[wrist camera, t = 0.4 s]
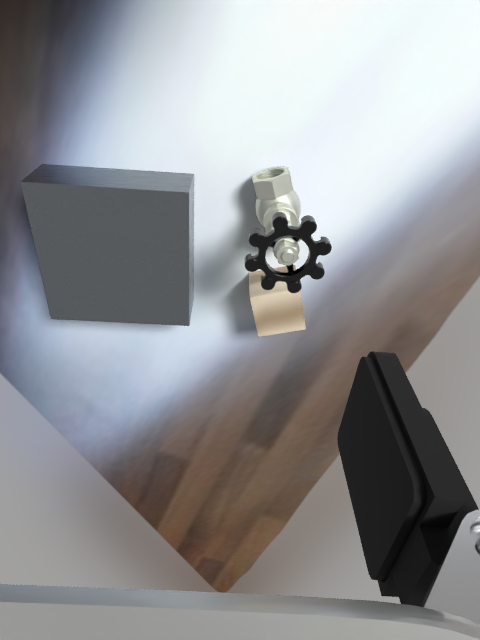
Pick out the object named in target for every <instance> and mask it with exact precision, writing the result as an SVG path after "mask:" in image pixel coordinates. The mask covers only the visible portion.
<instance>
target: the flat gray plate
mask: <svg viewBox="0 0 480 640" xmlns="http://www.w3.org/2000/svg"><path fill="white" fill-rule="evenodd" d="M21 187H22V191H23V196H24V200H25V205H26V209H27V214H28V218H29V222H30V227H31V231H32V236H33V240H34V245H35V249H36V253H37V258H38V262H39V267H40V271H41V276H42V280H43V285H44V289H45V293H46V298H47V302H48V307H49V311H50V316H51V319H64V320H84V321H104V322H124V323H143V324H163V325H183V326H189V325H190V318H191V312H192V305H193V273H194V174H185V173H170V172H154V171H139V170H123V169H108V168H92V167H77V166H62V165H46V164H42V165H41V166H39V167H38V168H37V169H36V170H34V171H33V172H32V173H31V174H29V175H28V176H27V177H26V178H24V179H23V180H22V181H21Z"/></svg>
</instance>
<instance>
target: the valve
mask: <svg viewBox="0 0 480 640" xmlns="http://www.w3.org/2000/svg"><path fill="white" fill-rule="evenodd" d="M252 179H253V185H254V189H255V193H256V197H257V199H256V207H255V209H256V215H257V218H258V220H259V222H260V223H261V224H262V226H263V227H264V228H265V234H266V235H264V234H263V233H262V232H261V231H260V229H259V228H254V229H252V230H251V231H250V232H249V243H250V244H251V245H252V246H253V247H258V254H257V255H256V256H251V254H248V255H247V256H246V257H245V268H246V269H247V270H248V271H250V272H254V271H256V270H258V269H261V270H262V271H263V272H264V273H265V276H263V275H262V276H261V278H260V280H261V287H262V288H263V289H264V290H271V289H273V288H274V286H275V283H276V282H278V281H281V282H286V284H287V289H288V291H289V292H290V293H297V292H299V291H300V290H301V282H300V279H301V278H302V277H304V276H305V275H310V276H311V277H312V278H313V279H320V278H322V277H323V276H324V268H323V265H322V264H321V263H320V262H319V263H318V264H317V263H316V259H317V257H318V256H319V255H327V254H328V253H330V251H331V244H330V241H329V239H328V238H326V237H321V240H319V241H314V240H313V238H312V237H311V234H313V233H314V232H315V231H316V228H317V225H316V222H315V219H314V218H313V217H312V216H304V217H303V218H302V219H301V221H302V222H301V224H300V223H299V220H298V219H299V216H300V212H301V205H300V200H299V197H298V195H297V193H296V192H295V191H294V189H293V187H292V182H291V176H290V172H289V168H288V167H284V166H277V167H271V168H268V169H265V170H262V171H260V172H258V173H256V174H255V175H254V176H253V177H252ZM301 239H302V240H303V241H304V242H305V243H306V244H307V246H308V247H309V255H308V259H307V260H306V262H305V263H304V265H303V266H302V267H300V268H299V269H297V270H295V271H294V267H293V263H294V262H295V261H296V260H298V259H299V258H298V254H299V245H298V242H299V241H300V240H301ZM268 246H269V247H273V252H274V256H275V257H276V259H278V263H280V264H283V265H286V266H287V271H288V272H279V271H276V270H274V269H273V268H271V267H270V266H269V264H268V263H267V261H266V259H265V254H266V250H267V248H268Z"/></svg>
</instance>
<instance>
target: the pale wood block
mask: <svg viewBox="0 0 480 640" xmlns="http://www.w3.org/2000/svg"><path fill="white" fill-rule="evenodd" d="M293 267H294V271H295V270H296V268H295V265H293ZM273 269H274V270H276V271H279V272H288V271H287V266H285V267H279V268H273ZM262 275H263V276H265V273H264V272H263V271H256V272H251V273H249V294H250V301H251V306H252V310H253V315H254V319H255V324H256V329H257V333H258V337H259V336H266V335H272V334H278V333H285V332H291V331H297V330H304V329H306V328H305V321H304V313H303V306H302V299H301V292H300V291H299V292H297V293H290V292H289V291H288V289H287V284H286V282H281V281H278V282H276V283H275V286H274V288H273V289H271V290H264V289H263V288H262V287H261V280H260V278H261V276H262Z"/></svg>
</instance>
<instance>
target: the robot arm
mask: <svg viewBox="0 0 480 640" xmlns="http://www.w3.org/2000/svg"><path fill="white" fill-rule="evenodd" d="M338 447H339V451H340V456H341V460H342V464H343V468H344V472H345V476H346V481H347V485H348V489H349V493H350V497H351V502H352V506H353V510H354V514H355V518H356V522H357V526H358V531H359V535H360V539H361V543H362V547H363V551H364V556H365V560H366V564H367V568H368V572H369V575H370V577H371V579H373V580H378V583H379V587H380V591H381V595H382V596H392V597H399V598H400V602H401V604H396V603H387V602H378V601H366V600H349V599H334V598H333V599H332V598H317V597H301V596H281V595H258V594H233V593H211V592H190V591H166V590H140V589H115V588H88V587H62V586H61V587H60V586H36V585H8V584H0V640H480V510H479V509H478V507H477V505H476V503H475V501H474V499H473V497H472V495H471V493H470V491H469V489H468V487H467V485H466V483H465V481H464V479H463V477H462V475H461V473H460V471H459V469H458V467H457V465H456V463H455V461H454V459H453V457H452V455H451V453H450V451H449V449H448V447H447V445H446V443H445V441H444V439H443V437H442V435H441V433H440V431H439V429H438V427H437V425H436V423H435V421H434V419H433V417H432V415H431V414H430V412H429V411H428V410H426V409H425V408H422V407H421V405H420V403H419V401H418V399H417V397H416V395H415V393H414V390H413V388H412V386H411V384H410V382H409V380H408V378H407V376H406V374H405V372H404V370H403V368H402V366H401V364H400V361H399V359H398V357H397V356H396V354H394V353H386V352H370V353H369V354H368V356H367V357H362V358H361V359H360V362H359V365H358V368H357V372H356V375H355V378H354V382H353V385H352V388H351V392H350V395H349V398H348V402H347V405H346V408H345V412H344V415H343V418H342V422H341V425H340V428H339V432H338Z"/></svg>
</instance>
